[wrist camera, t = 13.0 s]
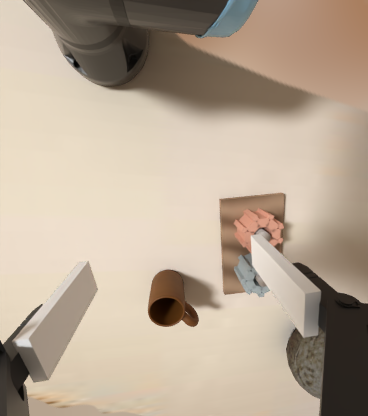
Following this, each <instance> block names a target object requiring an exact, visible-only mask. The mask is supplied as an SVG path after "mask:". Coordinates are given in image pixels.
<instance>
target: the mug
mask: <svg viewBox="0 0 368 416" xmlns="http://www.w3.org/2000/svg"><path fill="white" fill-rule="evenodd" d="M186 312H187V313H188V314H189V315H188V314H187V313H186ZM148 315H149V317H150V319H151V320H152V322H154V323H155V324H157V325H159V326H163V327H169V326H173V325H175V324H177V323H179V322H180V321H181V320H183V321H184V322H185V323H186V324H187V325H189V326H192V327H194V326H196V325H197V324H198V321H199V318H198V315H197V313H196V311H195V310H194V308H193V307H192V306H191V305H189V304H188V303H187V302H186V301H185V296H184V286H183V280H182V278H181V276H180V275H179V274H178V273H177V272H175V271H172V270H164V271H161V272H159V273H158V274H157V275H156V276H155V277H154V279H153V281H152V286H151V291H150V297H149V304H148Z"/></svg>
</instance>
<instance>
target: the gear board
mask: <svg viewBox="0 0 368 416" xmlns="http://www.w3.org/2000/svg"><path fill="white" fill-rule="evenodd" d="M258 208H260V209H263V210H265V211H266V212H268V213H270V214H272V215H273V216H274V219H276V220H278V221H279V222H281V223H282V224H283V213H284V194H283V193H275V194H265V195H255V196H245V197H235V198H225V199H220V223H221V246H222V270H223V292H224V294H225V295H226V294H235V293H243V292H245V290H244V288H243V286H242V284H241V282H240V281H239V279H238V277H237V275H236V273H235V271H234V267H235V266H238V264H239V261H240V260H239V259H238V257H239V256H240V255H242V256H245V255H247V254H249V253H250V252H249V250H248V249H247V248H246V247H243V246H242V245H241V244H240V242H239V241H238V240H237V239H236V237H235V235H234V233H236V232H237V227H236V226H235V225H234V222H235V220H240V218H241V217H242V216H243V215H244V212H243V211H245V210H247V209H248V210H250V211H251V212H255V211H257V210H258ZM257 234H261V235H262V236H263V237H264V238H265V239H266V240H267V241H268V242H269V241H270V238H271V236H270V234H269V233H267V232H266V231H265V230H263V229H262V228H261V227H260V228H259V229H258V230H257V231H256V232H255V233H254V235H257ZM282 235H283V229H281V232H280V237H281V238H282ZM274 247H275V248H276V249H277V250H278V251H279V252H280V253H281V254H282V243H281V244H280V243H277V244H276V245H275V246H274ZM255 279H256V280H257V282H258V283H259V285H260V286H262V287H265V286H267V285H266V284H265V283H264V281H263V280H262V278H261V277H260V275H259V274H256V275H255Z"/></svg>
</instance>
